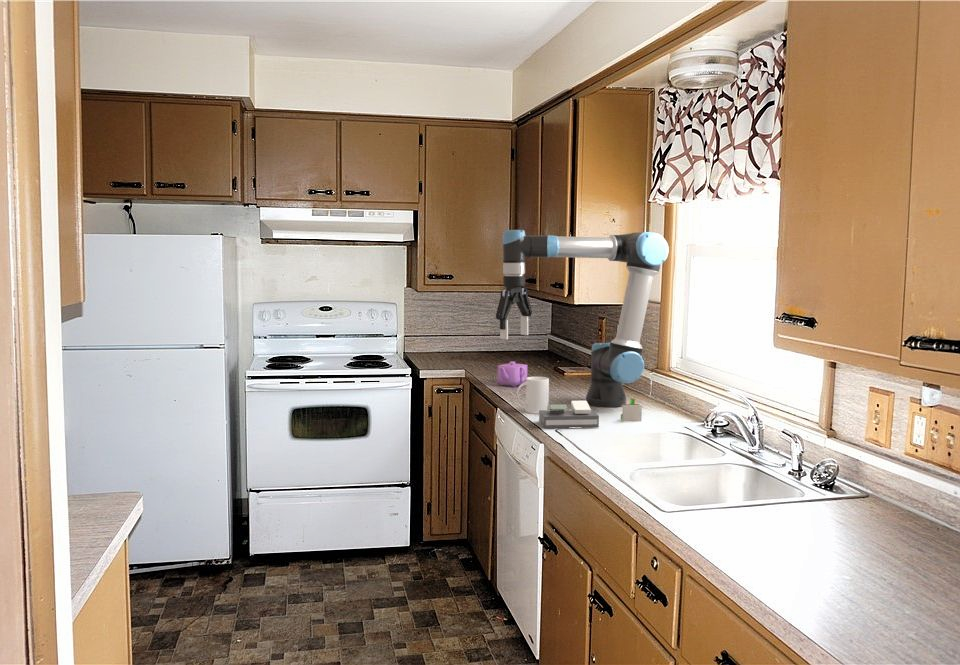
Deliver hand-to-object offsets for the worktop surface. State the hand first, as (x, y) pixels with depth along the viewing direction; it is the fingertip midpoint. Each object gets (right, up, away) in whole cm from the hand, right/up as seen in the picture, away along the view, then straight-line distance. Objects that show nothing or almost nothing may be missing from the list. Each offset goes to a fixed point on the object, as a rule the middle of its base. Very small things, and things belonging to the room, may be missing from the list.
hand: (514, 337), depth 279 cm
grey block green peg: (+39, -29, -4) cm, 49 cm away
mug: (+7, -27, +10) cm, 30 cm away
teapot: (+1, -21, +64) cm, 67 cm away
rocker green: (+13, -24, -12) cm, 30 cm away
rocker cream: (+21, -24, -11) cm, 34 cm away
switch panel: (+17, -29, -11) cm, 36 cm away
